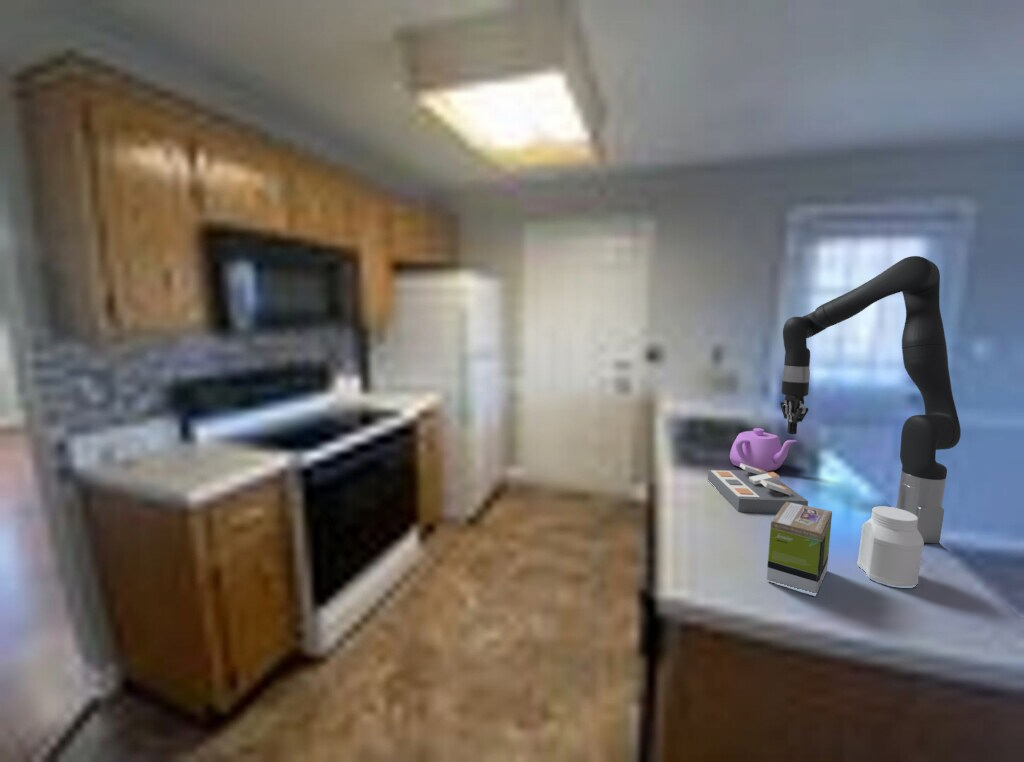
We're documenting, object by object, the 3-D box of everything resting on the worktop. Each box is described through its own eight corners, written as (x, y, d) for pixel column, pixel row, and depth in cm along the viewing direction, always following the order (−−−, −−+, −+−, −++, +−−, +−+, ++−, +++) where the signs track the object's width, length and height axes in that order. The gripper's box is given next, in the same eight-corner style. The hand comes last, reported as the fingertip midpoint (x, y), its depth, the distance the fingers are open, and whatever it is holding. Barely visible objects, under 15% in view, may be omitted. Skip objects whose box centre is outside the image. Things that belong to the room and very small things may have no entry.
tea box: (780, 557, 124) (785, 499, 122) (827, 571, 118) (834, 510, 116) (764, 582, 113) (770, 519, 111) (816, 599, 107) (824, 532, 104)
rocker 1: (766, 477, 169) (768, 473, 169) (744, 469, 169) (745, 466, 169) (761, 473, 173) (763, 470, 173) (739, 466, 173) (741, 462, 173)
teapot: (715, 466, 195) (718, 427, 192) (749, 458, 205) (752, 421, 203) (772, 484, 175) (776, 442, 173) (806, 474, 186) (810, 434, 184)
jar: (852, 560, 123) (859, 501, 121) (897, 565, 121) (906, 505, 119) (873, 585, 112) (881, 521, 110) (923, 592, 110) (933, 526, 108)
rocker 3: (790, 495, 154) (792, 491, 153) (765, 487, 154) (767, 482, 153) (784, 490, 158) (786, 486, 157) (759, 482, 157) (761, 478, 157)
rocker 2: (780, 479, 161) (779, 475, 161) (754, 484, 162) (753, 480, 162) (774, 475, 165) (773, 471, 165) (749, 480, 166) (748, 476, 166)
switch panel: (806, 513, 151) (808, 498, 150) (738, 511, 151) (739, 496, 151) (765, 482, 177) (767, 469, 177) (707, 480, 178) (708, 467, 177)
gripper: (819, 382, 155) (815, 438, 157) (796, 378, 168) (792, 429, 170) (794, 382, 155) (790, 438, 157) (773, 377, 168) (770, 429, 170)
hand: (791, 433), depth 164 cm, fingers closed
